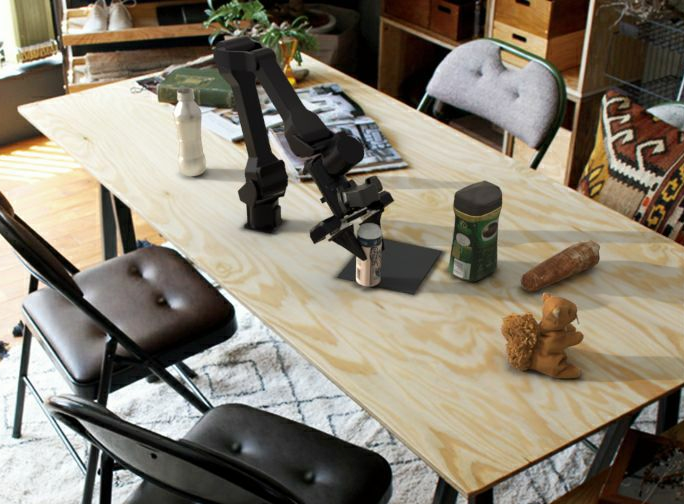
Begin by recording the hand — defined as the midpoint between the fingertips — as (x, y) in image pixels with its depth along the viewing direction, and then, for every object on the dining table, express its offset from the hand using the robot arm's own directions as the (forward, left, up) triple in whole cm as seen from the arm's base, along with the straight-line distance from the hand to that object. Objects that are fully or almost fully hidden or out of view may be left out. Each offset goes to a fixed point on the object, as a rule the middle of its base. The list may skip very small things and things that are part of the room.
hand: (374, 255), depth 198 cm
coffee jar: (+16, +13, -7) cm, 22 cm away
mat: (0, +9, -7) cm, 12 cm away
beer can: (-1, +1, -7) cm, 7 cm away
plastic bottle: (-57, +30, -7) cm, 65 cm away
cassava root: (+33, +17, -7) cm, 38 cm away
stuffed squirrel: (+36, -13, -7) cm, 39 cm away
